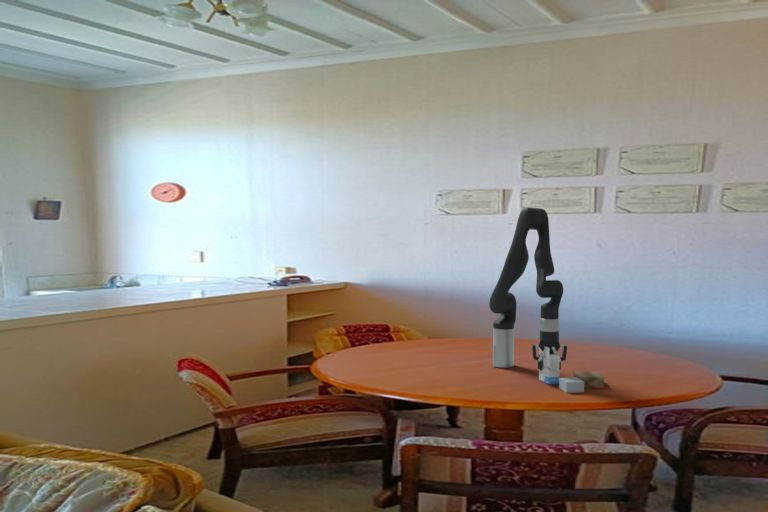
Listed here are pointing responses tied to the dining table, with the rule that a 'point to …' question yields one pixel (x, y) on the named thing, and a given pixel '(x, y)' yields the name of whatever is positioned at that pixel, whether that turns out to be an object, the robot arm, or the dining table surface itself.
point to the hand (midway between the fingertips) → (549, 370)
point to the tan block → (590, 378)
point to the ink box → (549, 367)
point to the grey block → (571, 385)
